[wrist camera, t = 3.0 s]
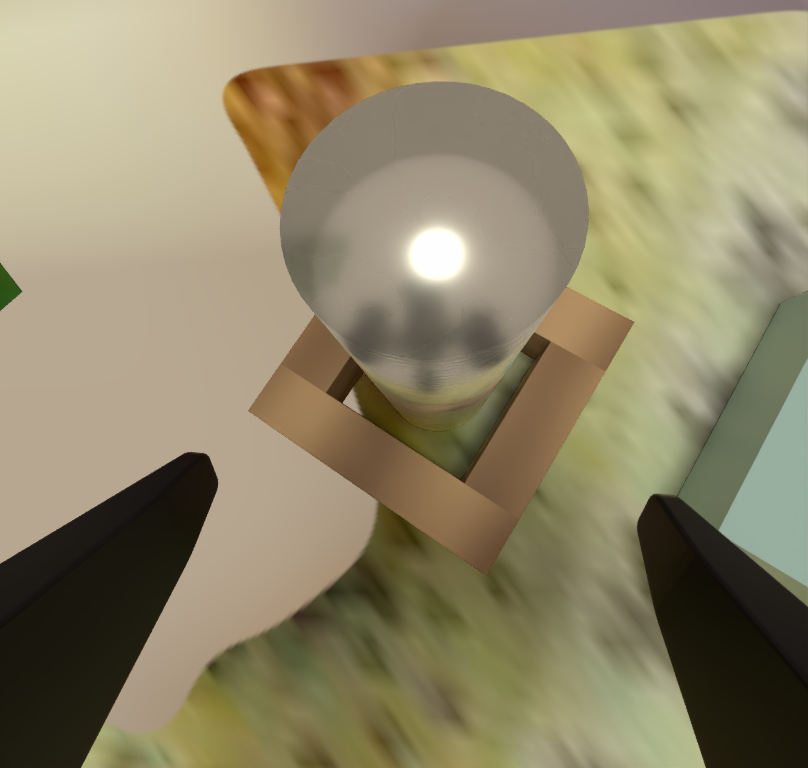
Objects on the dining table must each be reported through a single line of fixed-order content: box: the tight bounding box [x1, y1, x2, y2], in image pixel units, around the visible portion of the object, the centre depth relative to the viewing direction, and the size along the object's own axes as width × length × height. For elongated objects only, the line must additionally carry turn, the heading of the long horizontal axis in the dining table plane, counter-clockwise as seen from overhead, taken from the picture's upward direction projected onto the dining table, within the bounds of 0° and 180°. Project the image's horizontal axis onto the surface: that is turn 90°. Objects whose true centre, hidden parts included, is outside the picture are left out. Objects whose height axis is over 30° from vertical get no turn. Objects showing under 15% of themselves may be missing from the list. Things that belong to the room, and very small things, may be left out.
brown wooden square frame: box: [248, 287, 634, 576], centre depth 19 cm, size 12×12×3 cm
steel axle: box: [280, 82, 589, 431], centre depth 13 cm, size 5×5×14 cm
